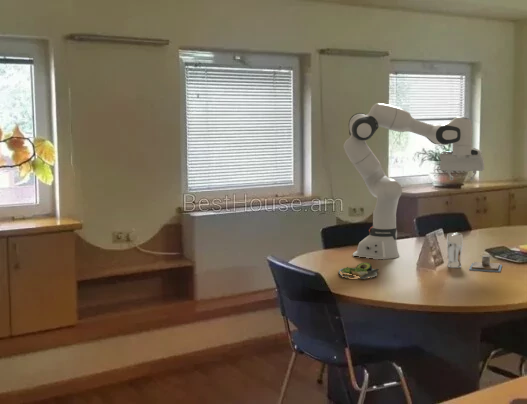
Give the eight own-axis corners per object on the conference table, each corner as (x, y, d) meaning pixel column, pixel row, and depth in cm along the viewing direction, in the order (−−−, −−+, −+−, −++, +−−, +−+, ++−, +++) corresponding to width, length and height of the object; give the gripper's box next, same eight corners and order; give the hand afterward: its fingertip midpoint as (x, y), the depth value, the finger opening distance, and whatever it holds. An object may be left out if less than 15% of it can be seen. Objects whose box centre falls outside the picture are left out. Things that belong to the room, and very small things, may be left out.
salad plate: (381, 282, 281) (381, 271, 281) (339, 282, 283) (339, 271, 282) (378, 271, 300) (378, 261, 300) (338, 271, 302) (338, 261, 301)
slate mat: (469, 270, 297) (469, 269, 297) (472, 264, 309) (472, 262, 308) (500, 272, 292) (500, 271, 292) (502, 265, 303) (502, 264, 303)
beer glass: (463, 268, 300) (463, 235, 298) (447, 268, 302) (447, 235, 300) (461, 265, 307) (462, 232, 305) (446, 264, 308) (446, 232, 307)
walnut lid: (471, 268, 297) (471, 258, 297) (474, 263, 307) (474, 253, 307) (497, 270, 293) (498, 259, 292) (499, 265, 303) (499, 254, 302)
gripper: (438, 151, 320) (438, 180, 322) (483, 151, 312) (483, 181, 314) (440, 150, 326) (440, 179, 327) (484, 150, 318) (484, 179, 319)
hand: (461, 180), depth 321 cm, fingers open, 8 cm apart
